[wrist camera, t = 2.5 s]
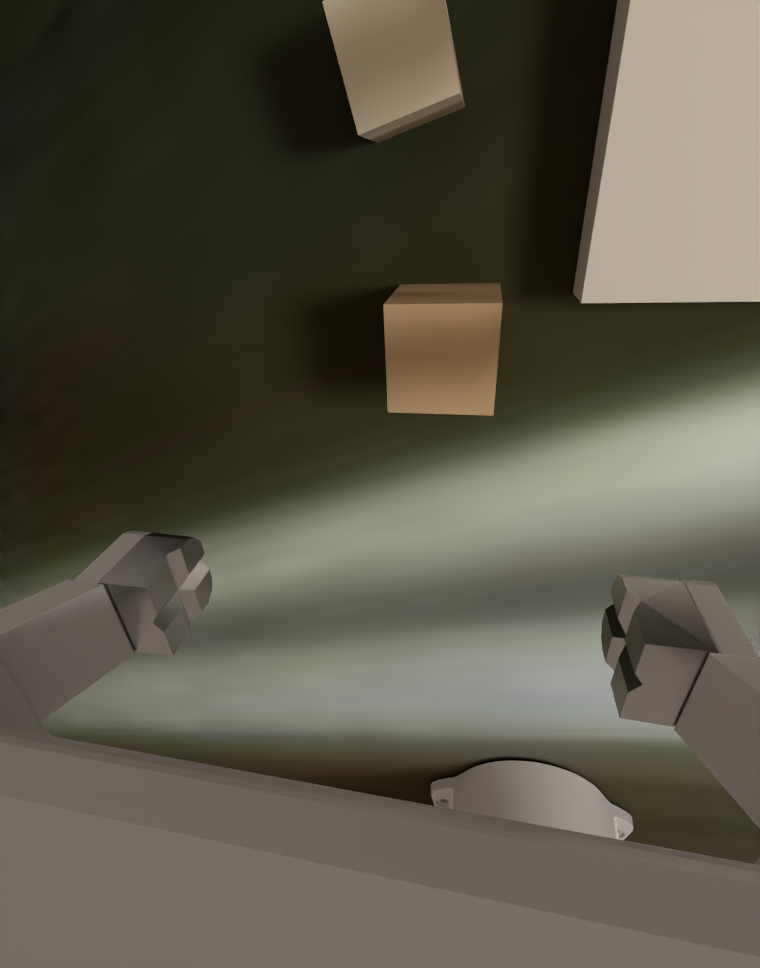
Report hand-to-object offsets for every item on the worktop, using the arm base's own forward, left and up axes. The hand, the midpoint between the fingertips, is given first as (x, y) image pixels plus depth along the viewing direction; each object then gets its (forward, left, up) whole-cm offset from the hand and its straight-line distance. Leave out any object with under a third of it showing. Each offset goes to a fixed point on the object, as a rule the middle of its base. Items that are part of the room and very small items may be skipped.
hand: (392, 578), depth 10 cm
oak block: (0, 0, -19) cm, 19 cm away
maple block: (+11, +2, -19) cm, 22 cm away
